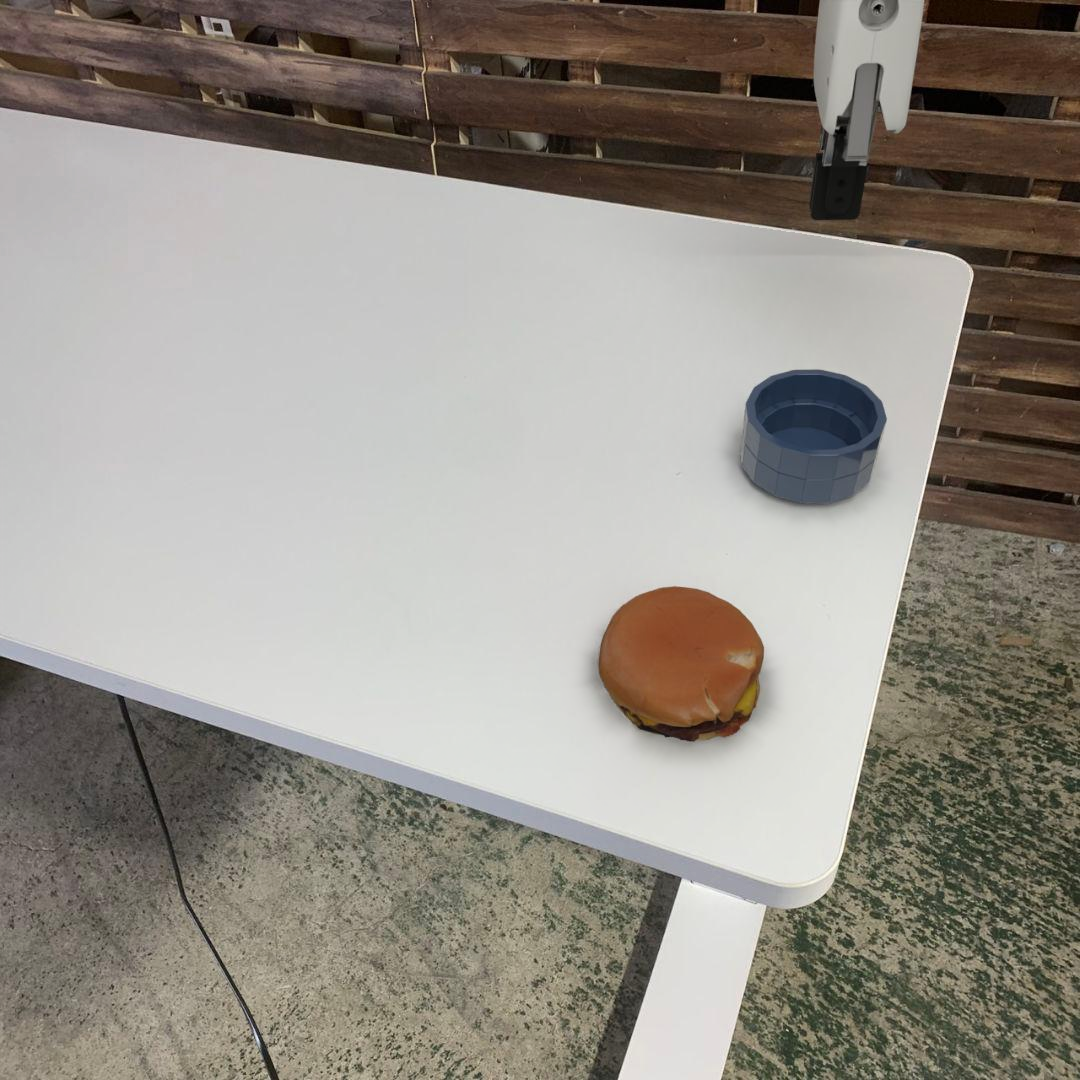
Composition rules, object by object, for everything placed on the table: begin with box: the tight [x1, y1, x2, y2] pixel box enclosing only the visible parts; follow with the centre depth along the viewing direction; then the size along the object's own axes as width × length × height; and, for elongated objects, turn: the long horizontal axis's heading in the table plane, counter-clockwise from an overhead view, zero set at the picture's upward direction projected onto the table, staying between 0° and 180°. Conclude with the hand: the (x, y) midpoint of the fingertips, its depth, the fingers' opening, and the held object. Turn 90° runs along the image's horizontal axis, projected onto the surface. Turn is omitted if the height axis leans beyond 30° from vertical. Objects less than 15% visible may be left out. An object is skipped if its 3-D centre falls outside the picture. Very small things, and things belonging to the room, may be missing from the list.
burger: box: [597, 585, 765, 743], centre depth 56 cm, size 10×9×5 cm
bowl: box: [739, 368, 888, 504], centre depth 68 cm, size 9×9×5 cm
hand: (833, 213), depth 67 cm, fingers closed
